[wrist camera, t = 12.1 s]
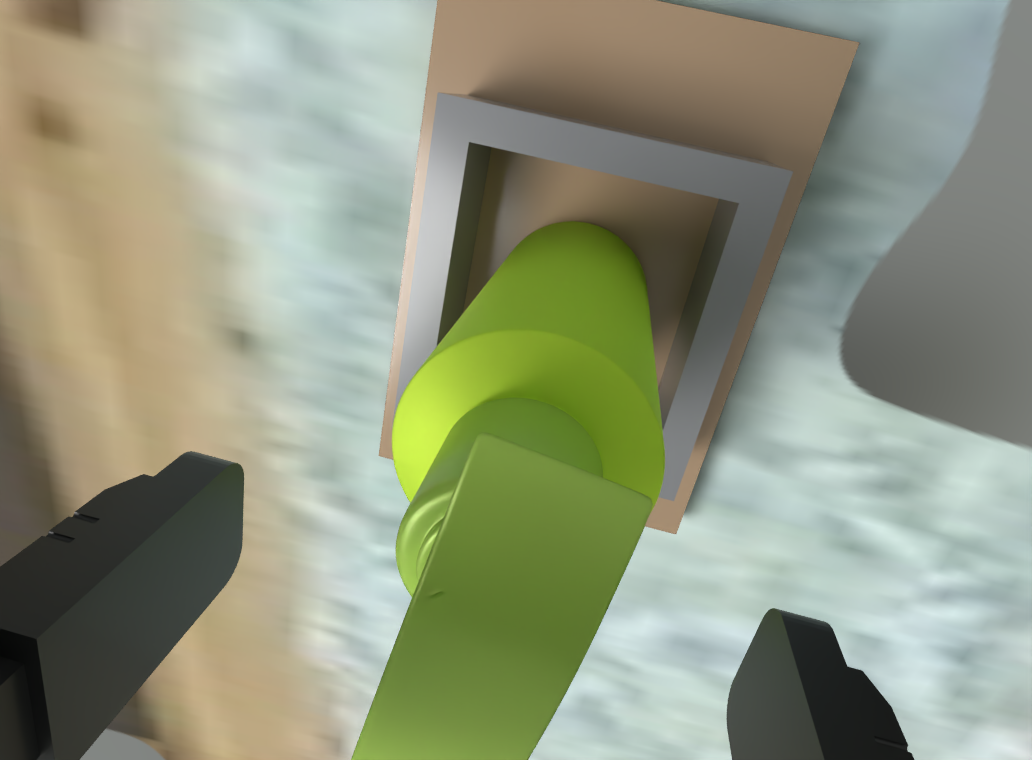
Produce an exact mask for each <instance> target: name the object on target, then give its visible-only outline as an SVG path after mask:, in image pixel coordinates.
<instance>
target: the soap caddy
mask: <svg viewBox="0 0 1032 760" xmlns="http://www.w3.org/2000/svg"><path fill="white" fill-rule="evenodd" d="M858 45H859V42H855V41H850V40H845V39H840V38H835V37H831V36H826V35H821V34H816V33H811V32H806V31H802V30H797V29H792V28H787V27H782V26H777V25H773V24H768V23H763V22H758V21H753V20H749V19H744V18H739V17H734V16H729V15H724V14H720V13H715V12H710V11H705V10H700V9H695V8H691V7H686V6H681V5H676V4H671V3H667V2H662V1H657V0H438V1H437V8H436V16H435V24H434V32H433V39H432V47H431V55H430V63H429V70H428V78H427V86H426V94H425V101H424V109H423V117H422V125H421V132H420V140H419V148H418V156H417V163H416V171H415V179H414V186H413V194H412V202H411V210H410V217H409V225H408V233H407V241H406V248H405V256H404V264H403V272H402V279H401V287H400V295H399V303H398V310H397V318H396V326H395V334H394V341H393V349H392V357H391V365H390V372H389V380H388V388H387V396H386V403H385V411H384V419H383V427H382V434H381V442H380V450H379V456H381V457H385V458H389V459H392V460H393V453H392V429H393V422H394V417H395V413H396V409H397V406H398V403H399V401H400V399H401V396H402V394H403V392H404V390H405V389H406V387H407V385H408V384H409V382H410V380H411V379H412V378H413V376H414V375H415V374H416V372H417V371H418V370H419V369H420V367H421V366H422V365H423V364H424V362H425V361H426V360H427V358H428V357H429V356H430V355H431V353H432V352H433V351H434V350H435V348H436V347H437V346H438V345H439V343H440V342H441V341H442V339H443V338H444V337H445V336H446V334H447V333H448V332H449V331H450V329H451V328H452V327H453V326H454V324H455V323H456V322H457V320H458V319H459V318H460V317H461V315H462V314H463V313H464V312H465V310H466V309H467V308H468V306H469V305H470V304H471V303H472V301H473V300H474V299H475V298H476V296H477V295H478V294H479V293H480V291H481V290H482V289H483V287H484V286H485V285H486V284H487V282H488V281H489V280H490V279H491V277H492V276H493V275H494V274H495V272H496V271H497V270H498V268H499V267H500V266H501V265H502V263H503V262H504V261H505V260H506V258H507V257H508V256H509V254H510V253H511V252H512V251H513V249H514V248H515V247H516V246H517V245H518V244H519V243H520V242H521V241H522V240H523V239H524V238H525V237H527V236H528V235H530V234H531V233H533V232H534V231H536V230H538V229H540V228H542V227H545V226H548V225H551V224H554V223H559V222H569V221H576V222H585V223H590V224H594V225H597V226H600V227H602V228H604V229H606V230H608V231H610V232H612V233H613V234H615V235H616V236H618V237H619V238H620V239H621V240H623V241H624V242H625V243H626V244H627V245H628V246H629V247H630V249H631V250H632V251H633V252H634V254H635V255H636V257H637V259H638V260H639V262H640V264H641V267H642V269H643V272H644V275H645V279H646V284H647V292H648V301H649V310H650V320H651V329H652V338H653V347H654V356H655V365H656V374H657V384H658V393H659V402H660V411H661V420H662V429H663V438H664V448H665V471H664V478H663V483H662V487H661V490H660V494H659V496H658V499H657V501H656V504H655V506H654V508H653V510H652V512H651V513H650V515H649V517H648V520H647V522H646V525H645V526H646V527H650V528H654V529H657V530H661V531H665V532H669V533H673V534H676V533H677V530H678V528H679V525H680V522H681V520H682V517H683V514H684V512H685V509H686V506H687V503H688V501H689V498H690V495H691V493H692V490H693V487H694V485H695V482H696V479H697V477H698V474H699V471H700V469H701V466H702V463H703V461H704V458H705V455H706V453H707V450H708V447H709V445H710V442H711V439H712V437H713V434H714V431H715V428H716V426H717V423H718V420H719V418H720V415H721V412H722V410H723V407H724V404H725V402H726V399H727V396H728V394H729V391H730V388H731V386H732V383H733V380H734V378H735V375H736V372H737V370H738V367H739V364H740V362H741V359H742V356H743V353H744V351H745V348H746V345H747V343H748V340H749V337H750V335H751V332H752V329H753V327H754V324H755V321H756V319H757V316H758V313H759V311H760V308H761V305H762V303H763V300H764V297H765V295H766V292H767V289H768V287H769V284H770V281H771V278H772V276H773V273H774V270H775V268H776V265H777V262H778V260H779V257H780V254H781V252H782V249H783V246H784V244H785V241H786V238H787V236H788V233H789V230H790V228H791V225H792V222H793V220H794V217H795V214H796V212H797V209H798V206H799V203H800V201H801V198H802V195H803V193H804V190H805V187H806V185H807V182H808V179H809V177H810V174H811V171H812V169H813V166H814V163H815V161H816V158H817V155H818V153H819V150H820V147H821V145H822V142H823V139H824V137H825V134H826V131H827V128H828V126H829V123H830V120H831V118H832V115H833V112H834V110H835V107H836V104H837V102H838V99H839V96H840V94H841V91H842V88H843V86H844V83H845V80H846V78H847V75H848V72H849V70H850V67H851V64H852V62H853V59H854V56H855V53H856V51H857V48H858Z"/></svg>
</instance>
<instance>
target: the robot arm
mask: <svg viewBox="0 0 1032 760" xmlns="http://www.w3.org/2000/svg"><path fill="white" fill-rule="evenodd" d="M243 498H244V472H243V469H242V467H241V465H240V464H238V463H234V462H231V461H227V460H223V459H219V458H216V457H212V456H208V455H204V454H201V453H197V452H192V451H190V452H186V453H184V454H182V455H181V456H180V457H178V458H177V459H176V460H175V461H173V462H172V463H171V464H169V465H168V466H167V467H166V468H164V469H163V470H162V471H161V472H159V473H158V474H157V475H155V476H154V477H152V476H148V475H145V474H143V475H140V476H138V477H135V478H133V479H130V480H128V481H125V482H123V483H120V484H118V485H115V486H113V487H110V488H108V489H105V490H104V491H102V492H101V493H100V494H98V495H97V496H96V497H94V498H93V499H92V500H90V501H89V502H88V503H86V504H85V505H83V506H82V507H81V508H79V509H78V510H77V511H75V514H74V516H73V517H67V518H66V519H64V520H63V521H62V522H60V523H59V524H58V525H56V526H55V527H54V528H52V529H51V530H50V531H49V533H48V535H47V536H46V537H45V536H41V537H40V538H39V539H37V540H36V541H35V542H33V543H32V544H31V545H29V546H28V547H27V548H25V549H24V550H22V551H21V552H20V553H18V554H17V555H16V556H14V557H13V558H12V559H10V560H9V561H8V562H6V563H5V564H3V565H2V566H1V567H0V760H80V758H81V757H82V756H83V755H84V754H85V752H86V751H87V750H88V749H89V748H90V746H91V745H92V744H93V743H94V742H95V741H96V739H97V738H98V737H99V736H100V734H101V733H102V732H103V731H104V730H105V729H106V727H107V726H108V725H109V724H110V723H111V721H112V720H113V719H114V718H115V717H116V715H117V714H118V713H119V712H120V711H121V709H122V708H123V707H124V706H125V705H126V704H127V702H128V701H129V700H130V699H131V698H132V696H133V695H134V694H135V693H136V692H137V690H138V689H139V688H140V687H141V686H142V684H143V683H144V682H145V681H146V680H147V678H148V677H149V676H150V675H151V674H152V672H153V671H154V670H155V669H156V668H157V667H158V665H159V664H160V663H161V662H162V661H163V659H164V658H165V657H166V656H167V655H168V653H169V652H170V651H171V650H172V649H173V647H174V646H175V645H176V644H177V643H178V641H179V640H180V639H181V638H182V637H183V635H184V634H185V633H186V632H187V631H188V629H189V628H190V627H191V626H192V625H193V624H194V622H195V621H196V620H197V619H198V618H199V616H200V615H201V614H202V613H203V612H204V610H205V609H206V608H207V607H208V606H209V604H210V603H211V602H212V601H213V600H214V598H215V597H216V596H217V595H218V594H219V592H220V591H221V590H222V589H223V588H224V586H225V585H226V584H227V582H228V581H229V579H230V578H231V576H232V574H233V572H234V570H235V568H236V566H237V563H238V560H239V557H240V554H241V549H242V536H243ZM727 729H728V735H729V742H730V748H731V755H732V760H914V758H913V756H912V753H910V752H908V751H907V746H908V744H907V742H906V739H905V737H904V735H903V733H902V730H901V728H900V726H899V723H898V721H897V719H896V716H895V714H894V712H893V709H892V707H891V706H890V705H889V703H888V702H887V701H886V700H885V698H884V697H883V696H882V695H881V693H880V692H879V691H878V690H877V688H876V687H875V686H874V685H873V683H872V682H871V681H870V680H869V678H868V677H867V676H866V675H865V674H864V672H863V671H861V670H858V669H854V668H850V667H847V665H846V662H845V659H844V657H843V654H842V652H841V649H840V647H839V644H838V641H837V639H836V636H835V634H834V631H833V629H832V628H831V626H830V625H829V624H828V623H826V622H824V621H820V620H816V619H812V618H809V617H805V616H801V615H797V614H794V613H790V612H786V611H782V610H779V609H775V608H773V609H770V610H769V611H768V612H767V613H766V614H765V615H764V617H763V619H762V621H761V623H760V625H759V627H758V630H757V632H756V634H755V636H754V638H753V640H752V642H751V644H750V646H749V648H748V651H747V653H746V655H745V657H744V659H743V661H742V663H741V665H740V667H739V669H738V672H737V674H736V676H735V678H734V680H733V682H732V685H731V689H730V693H729V698H728V705H727Z"/></svg>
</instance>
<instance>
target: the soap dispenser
mask: <svg viewBox="0 0 1032 760" xmlns="http://www.w3.org/2000/svg"><path fill="white" fill-rule="evenodd" d="M392 453H393V460H394V465H395V469H396V472H397V476H398V478H399V481H400V484H401V486H402V488H403V490H404V492H405V494H406V496H407V498H408V500H409V501H410V505H409V507H408V509H407V511H406V513H405V515H404V517H403V519H402V521H401V524H400V527H399V531H398V535H397V540H396V560H397V566H398V570H399V573H400V576H401V578H402V581H403V583H404V585H405V587H406V589H407V590H408V592H409V593H410V595H411V596H412V600H411V602H410V605H409V607H408V610H407V613H406V615H405V618H404V620H403V623H402V626H401V628H400V631H399V633H398V636H397V639H396V641H395V644H394V647H393V649H392V652H391V654H390V657H389V660H388V662H387V665H386V668H385V670H384V673H383V676H382V678H381V681H380V684H379V686H378V689H377V692H376V694H375V697H374V700H373V702H372V705H371V708H370V710H369V713H368V716H367V718H366V721H365V724H364V726H363V729H362V732H361V734H360V737H359V740H358V742H357V745H356V748H355V750H354V753H353V756H352V758H351V760H528V759H529V757H530V755H531V754H532V752H533V750H534V749H535V747H536V745H537V744H538V742H539V740H540V738H541V737H542V735H543V733H544V731H545V730H546V728H547V726H548V724H549V723H550V721H551V719H552V717H553V716H554V714H555V712H556V710H557V708H558V707H559V705H560V703H561V701H562V699H563V697H564V695H565V694H566V692H567V690H568V688H569V686H570V684H571V682H572V680H573V678H574V677H575V675H576V673H577V671H578V669H579V667H580V665H581V663H582V661H583V659H584V657H585V655H586V653H587V651H588V649H589V647H590V645H591V643H592V640H593V638H594V636H595V634H596V632H597V630H598V628H599V626H600V624H601V622H602V619H603V617H604V615H605V613H606V611H607V609H608V607H609V604H610V602H611V600H612V598H613V596H614V594H615V591H616V589H617V587H618V585H619V583H620V581H621V578H622V576H623V574H624V572H625V570H626V567H627V565H628V563H629V561H630V559H631V556H632V554H633V552H634V550H635V547H636V545H637V543H638V541H639V538H640V536H641V534H642V532H643V529H644V527H645V525H646V522H647V520H648V517H649V515H650V513H651V512H652V510H653V508H654V506H655V504H656V501H657V499H658V496H659V494H660V490H661V487H662V483H663V478H664V471H665V448H664V438H663V429H662V420H661V411H660V402H659V393H658V384H657V374H656V365H655V356H654V347H653V338H652V329H651V320H650V310H649V301H648V292H647V284H646V279H645V275H644V272H643V269H642V267H641V264H640V262H639V260H638V259H637V257H636V255H635V254H634V252H633V251H632V250H631V249H630V247H629V246H628V245H627V244H626V243H625V242H624V241H623V240H621V239H620V238H619V237H618V236H616V235H615V234H613V233H612V232H610V231H608V230H606V229H604V228H602V227H600V226H597V225H594V224H590V223H585V222H576V221H569V222H559V223H554V224H551V225H548V226H545V227H542V228H540V229H538V230H536V231H534V232H533V233H531V234H530V235H528V236H527V237H525V238H524V239H523V240H522V241H521V242H520V243H519V244H518V245H517V246H516V247H515V248H514V249H513V251H512V252H511V253H510V254H509V256H508V257H507V258H506V260H505V261H504V262H503V263H502V265H501V266H500V267H499V268H498V270H497V271H496V272H495V274H494V275H493V276H492V277H491V279H490V280H489V281H488V282H487V284H486V285H485V286H484V287H483V289H482V290H481V291H480V293H479V294H478V295H477V296H476V298H475V299H474V300H473V301H472V303H471V304H470V305H469V306H468V308H467V309H466V310H465V312H464V313H463V314H462V315H461V317H460V318H459V319H458V320H457V322H456V323H455V324H454V326H453V327H452V328H451V329H450V331H449V332H448V333H447V334H446V336H445V337H444V338H443V339H442V341H441V342H440V343H439V345H438V346H437V347H436V348H435V350H434V351H433V352H432V353H431V355H430V356H429V357H428V358H427V360H426V361H425V362H424V364H423V365H422V366H421V367H420V369H419V370H418V371H417V372H416V374H415V375H414V376H413V378H412V379H411V380H410V382H409V384H408V385H407V387H406V389H405V390H404V392H403V394H402V396H401V399H400V401H399V403H398V406H397V409H396V413H395V417H394V422H393V429H392Z"/></svg>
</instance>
